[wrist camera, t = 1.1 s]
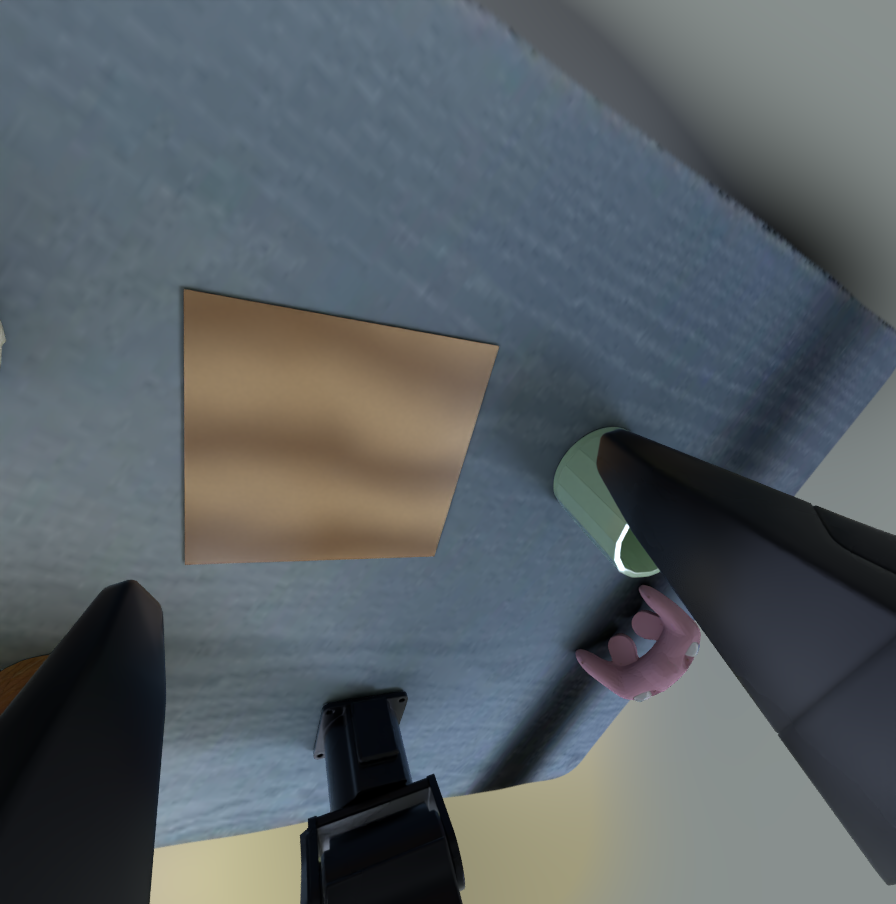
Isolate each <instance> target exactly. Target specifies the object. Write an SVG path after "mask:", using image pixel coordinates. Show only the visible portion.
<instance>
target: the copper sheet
mask: <svg viewBox="0 0 896 904" xmlns="http://www.w3.org/2000/svg"><path fill="white" fill-rule="evenodd" d="M498 349H499V346H497V345H491V344H486V343H480V342H475V341H469V340H464V339H458V338H453V337H447V336H442V335H436V334H430V333H425V332H419V331H414V330H408V329H403V328H397V327H392V326H386V325H381V324H375V323H370V322H364V321H359V320H353V319H348V318H342V317H337V316H331V315H326V314H320V313H315V312H309V311H304V310H298V309H293V308H287V307H282V306H276V305H271V304H265V303H260V302H254V301H249V300H243V299H237V298H232V297H226V296H221V295H215V294H210V293H204V292H199V291H193V290H188V289H184V475H185V565H196V564H225V563H254V562H284V561H313V560H342V559H371V558H400V557H429V556H434V555H435V552H436V549H437V546H438V542H439V539H440V536H441V533H442V530H443V526H444V523H445V520H446V517H447V513H448V510H449V507H450V504H451V500H452V497H453V494H454V491H455V488H456V484H457V481H458V478H459V475H460V471H461V468H462V465H463V462H464V458H465V455H466V452H467V449H468V446H469V442H470V439H471V436H472V433H473V429H474V426H475V423H476V420H477V417H478V413H479V410H480V407H481V404H482V400H483V397H484V394H485V391H486V387H487V384H488V381H489V378H490V375H491V371H492V368H493V365H494V362H495V358H496V355H497V352H498Z"/></svg>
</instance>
